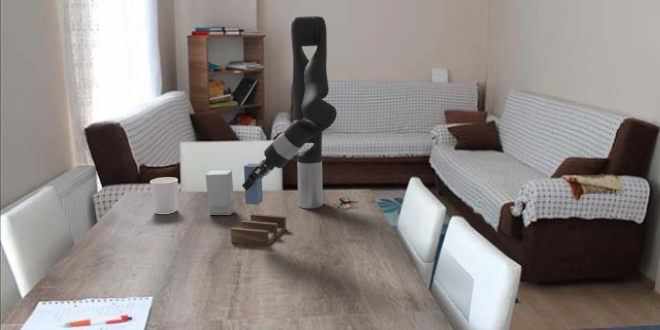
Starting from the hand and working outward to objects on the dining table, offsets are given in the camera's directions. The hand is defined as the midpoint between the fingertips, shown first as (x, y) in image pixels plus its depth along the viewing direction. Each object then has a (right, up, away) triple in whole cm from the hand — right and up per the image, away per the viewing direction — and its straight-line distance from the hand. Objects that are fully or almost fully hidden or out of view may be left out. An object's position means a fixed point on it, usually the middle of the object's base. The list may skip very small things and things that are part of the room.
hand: (247, 185), depth 183 cm
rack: (+3, -16, +7) cm, 18 cm away
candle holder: (-35, -11, +34) cm, 50 cm away
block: (+2, -5, +1) cm, 6 cm away
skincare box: (-14, -11, +31) cm, 36 cm away
